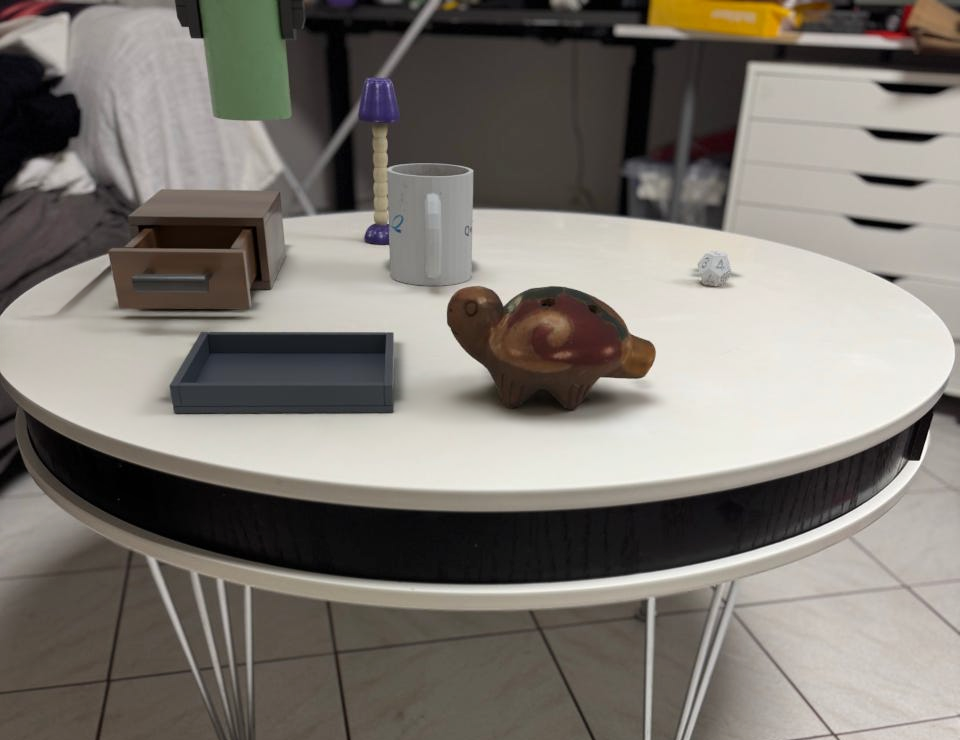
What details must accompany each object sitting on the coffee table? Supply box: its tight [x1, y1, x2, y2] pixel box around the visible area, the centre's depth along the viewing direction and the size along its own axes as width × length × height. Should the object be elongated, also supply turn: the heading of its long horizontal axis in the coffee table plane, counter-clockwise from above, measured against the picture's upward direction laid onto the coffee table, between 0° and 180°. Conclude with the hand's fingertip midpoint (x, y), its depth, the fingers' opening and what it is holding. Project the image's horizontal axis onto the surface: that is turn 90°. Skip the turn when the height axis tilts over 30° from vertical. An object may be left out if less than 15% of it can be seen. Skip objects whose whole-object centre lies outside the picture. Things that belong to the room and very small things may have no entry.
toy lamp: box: [357, 77, 401, 245], centre depth 104 cm, size 5×5×17 cm
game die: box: [696, 250, 733, 287], centre depth 95 cm, size 4×4×3 cm
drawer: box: [107, 225, 260, 310], centre depth 83 cm, size 18×11×5 cm, turn 4°
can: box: [198, 0, 293, 122], centre depth 59 cm, size 5×5×9 cm
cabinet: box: [127, 188, 287, 290], centre depth 93 cm, size 15×13×7 cm
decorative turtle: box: [446, 285, 657, 411], centre depth 65 cm, size 10×15×8 cm, turn 98°
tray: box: [169, 331, 395, 414], centre depth 68 cm, size 15×12×2 cm
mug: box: [387, 162, 474, 287], centre depth 92 cm, size 12×9×10 cm
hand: (244, 37), depth 59 cm, fingers closed on can, 5 cm apart
